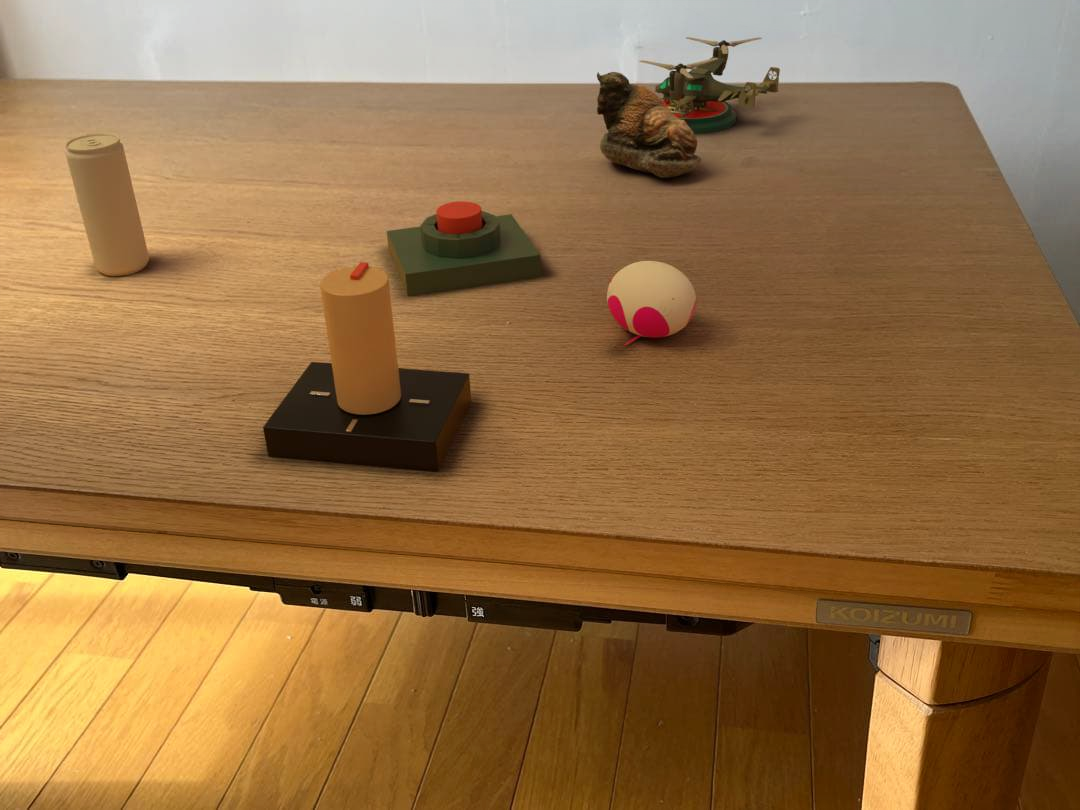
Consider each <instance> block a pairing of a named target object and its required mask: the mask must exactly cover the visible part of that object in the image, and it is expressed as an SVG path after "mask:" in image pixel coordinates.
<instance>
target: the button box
mask: <svg viewBox="0 0 1080 810" xmlns="http://www.w3.org/2000/svg"><path fill="white" fill-rule="evenodd" d="M386 238H387V247H388V253H389V256H390V259H391V261H392V263H393V265H394V268H395V270H396V272H397V276H398V277H399V280H400V282H401V284H402V287H403V289H404V292H405V294H406V296H407V297H413V296H421V295H427V294H434V293H435V294H436V293H440V292H442V293H443V292H447V291H453V290H460V289H466V288H468V289H469V288H475V287H481V286H488V285H494V284H502V283H509V282H515V281H522V280H528V279H534V278H541V277H542V270H541V269H542V268H541V267H542V266H541V265H542V264H541V254H540V252H539V251H538V250H537V248H536V247H535V245H534V244H533V242H532V241H531V240H530V238H529V237H528V235H527V234H526V232H525V231H524V230H523V229H522V227H521V225H520V224H519V223H518V220H516V218H515V217H514V216H513V214H512V213H510V214H509V213H508V214H502V215H495V214H492V213H490V212H486V211H485V210H482V229H479V230H477V231H475V232H472V233H465V234H447V233H443V232H441V231H439V230H438V224H437V213H435V214H433V215H430V216H427V217H425V219H424V220H423V221H422V223H421V224H420V225H419V226H413V227H405V228H399V229H391V230H386Z"/></svg>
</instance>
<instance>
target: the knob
mask: <svg viewBox="0 0 1080 810" xmlns="http://www.w3.org/2000/svg"><path fill="white" fill-rule="evenodd" d="M319 287H320V295H321V300H322V308H323V314H324V321H325V327H326V335H327V341H328V347H329V354H330V355H329V356H330V363H332V369H333V376H334V383H335V390H336V397H337V403H338V405H339V407H340V408H341V409H343V410H344V411H346V412H348V413H352V414H357V415H370V414H377V413H381V412H384V411H386V410H389V409H391V408H392V407H394V406H395V405H396V404H397V403H398V402H399V401H400V398H401V388H400V379H399V370H398V368H399V363H398V353H397V345H396V336H395V335H396V334H395V326H394V325H395V324H394V318H393V309H392V307H393V306H392V299H391V289H390V282H389V276H388V274H387V272H385V271H384V270H382V269H380V268H377V267H372V266H370V265H369V262H366V261H365V262H363V261H360V262H359V263H358V264H357V266H348V267H343V268H339V269H336V270H334V271H331V272H329V273H328V274H326V275H324V276H323V277H322V279H321V280H320V283H319Z"/></svg>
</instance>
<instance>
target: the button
mask: <svg viewBox="0 0 1080 810" xmlns="http://www.w3.org/2000/svg"><path fill="white" fill-rule="evenodd" d="M482 211H483V210H482V206H481V205H480V204H478V203H476V202H472V201H461V200H459V201H451V202H447V203H444V204H442V205H439V207H437V208H436V214H437V224H438V230H439V231H441V232H443V233H447V234H465V233H472V232H475V231H477V230H479V229H482Z"/></svg>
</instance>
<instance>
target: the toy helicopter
mask: <svg viewBox="0 0 1080 810" xmlns="http://www.w3.org/2000/svg"><path fill="white" fill-rule="evenodd" d="M685 39H687V40H691V41H695V42H699V43H702V44H706V45H709V46H711V47H713V48H712V57H710V58H708V59H704V60H701V61H697V62H693V63H687V64H684V63H680V62H679V63H678V64H677V65H673V64H668V63H662V62H661V63H660V62H656V61H655V62H654V61H651V60H650V61H649V60H643V59H642V60H639V61H638V62H640V63H642V64H643V63H644V64H648V65H653V66H655V67H659V68H663V69H665V70H668V71H669V75H668V76H667V77H666V78H665V79H664V80H663V81H662V82H660V83H659V84H656V85H655V90H654V91H655V92H654V93H657V94H662V95H663V97H662V98H659V99H660V100H661V101H662V102H663V103H664V105H665V106H666V107H667V108H668V109H669V110H670V111H671V112H672V113H673V114H674V115H675V116H676V117H677V118H678V119H681V120H684V121H685V122H686V123H687V125H688V126H689V128H691V129H692V131H693V132H694V134H695V135H702V134H703V135H704V134H712V133H716V132H720V131H724V130H728V129H729V128H732V126H733V125H735V124H736V121H737V113H736V111H735V110H734V109H733V108H732V105H731V104H730V103H729V102H727V101H731V100H734V99H735V100H736V99H737V102H738V106H739V107H740V108H746V109H756V107H755V105H756V96H757V97H758V96H759V94H765V95H767V93H768V92H769V93H780V92H779V82H780V73H781V72H780V71H781V70H780V67H777V66H776V67H775V66H770V67H769V69H768V70H767V73H766V75H765V76H764V78H763V80H762V82H760V84H759V85H757V83H756V82H751V81H746V82H745V84H744V86H738V85H732V84H729V83H728V84H727V83H724V82H721V81H719V80H717V79H715V78H714V77H713V76H718V77H722V76H723V75H724V74H723V73H724V70H725V69H726V67H727V62H728V59H729V48H728V47H732V48H734V47H737V46H739V45H742V44H745V43H749V42H753V41H758V40H762V39H763V38H762V37H760V36H759V37H753V38H747V39H741V40H735V41H734V40H733V41H729V42H728V41H726V40H725V39H723V40H721V41H716V40H707V39H701V38H697V37H696V38H695V37H690V36H686V37H685ZM687 70H689V71H687ZM770 72H771V73H770ZM770 76H771V78H770ZM774 77H775V78H774Z"/></svg>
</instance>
